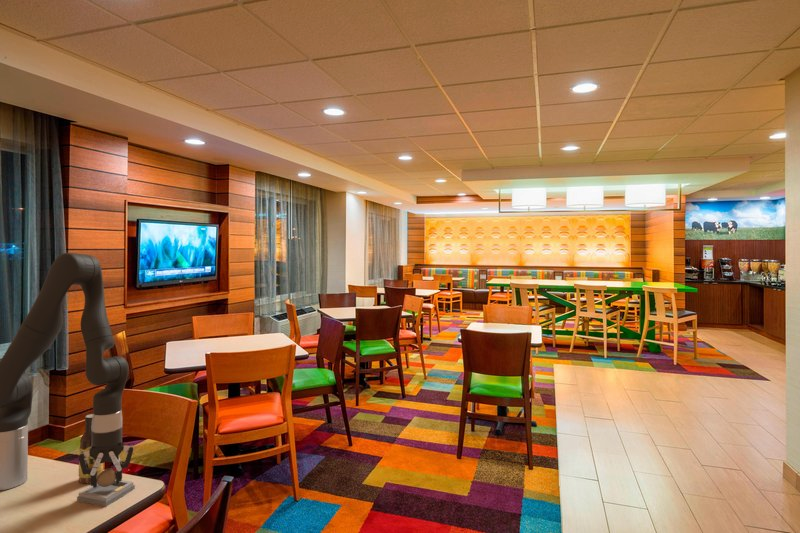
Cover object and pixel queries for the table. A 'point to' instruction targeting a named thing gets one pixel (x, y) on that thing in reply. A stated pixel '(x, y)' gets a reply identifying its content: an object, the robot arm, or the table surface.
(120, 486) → the grey square tray
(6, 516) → the table surface
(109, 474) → the door knob
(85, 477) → the sauce bottle
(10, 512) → the table surface
